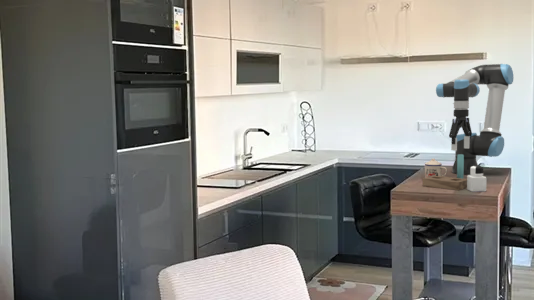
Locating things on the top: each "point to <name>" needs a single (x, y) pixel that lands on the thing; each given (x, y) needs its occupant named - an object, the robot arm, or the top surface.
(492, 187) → the top surface
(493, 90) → the robot arm
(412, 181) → the top surface
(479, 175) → the medicine bottle
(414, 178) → the top surface
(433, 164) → the teacup with lid
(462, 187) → the walnut hole block
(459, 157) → the teal peg
